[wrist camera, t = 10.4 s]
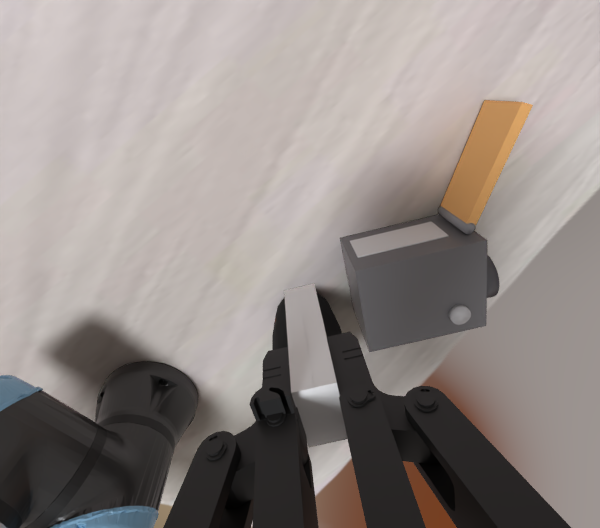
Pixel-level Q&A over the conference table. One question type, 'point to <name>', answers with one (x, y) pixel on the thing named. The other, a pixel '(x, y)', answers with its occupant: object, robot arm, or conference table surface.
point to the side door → (482, 162)
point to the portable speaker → (281, 326)
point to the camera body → (418, 281)
